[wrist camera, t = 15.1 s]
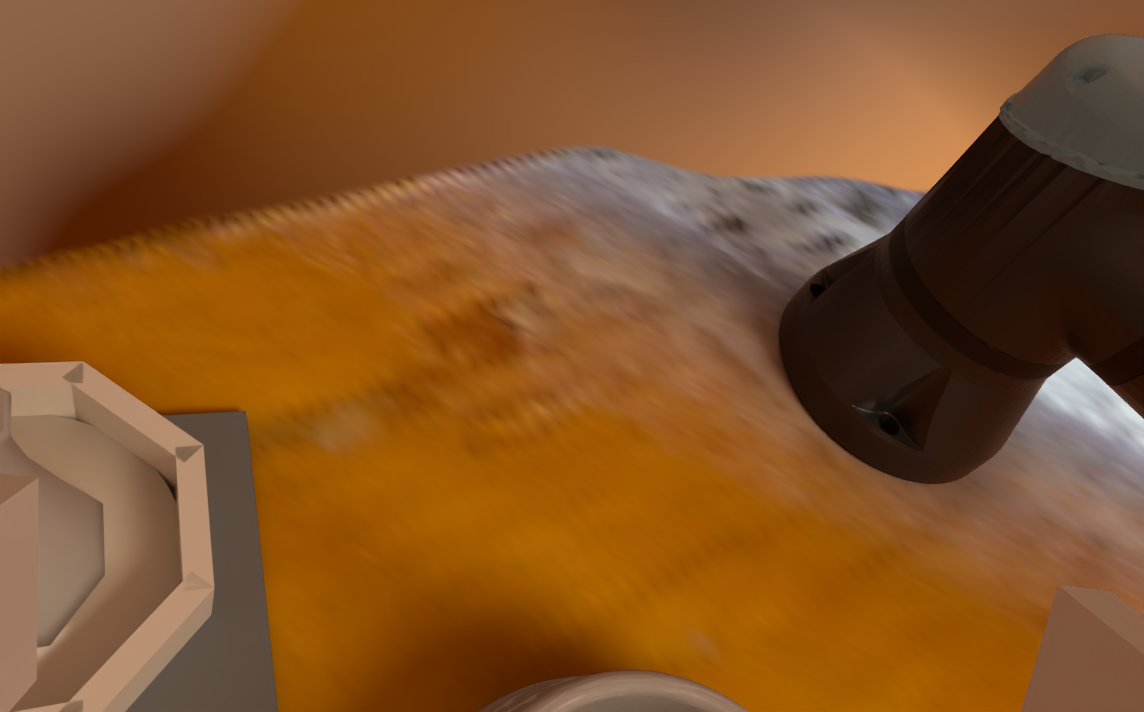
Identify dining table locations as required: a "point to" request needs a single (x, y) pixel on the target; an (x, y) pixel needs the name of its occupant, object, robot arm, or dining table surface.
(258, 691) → the mat
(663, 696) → the dog bowl
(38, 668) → the bowl
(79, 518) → the flask
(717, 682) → the dining table surface
